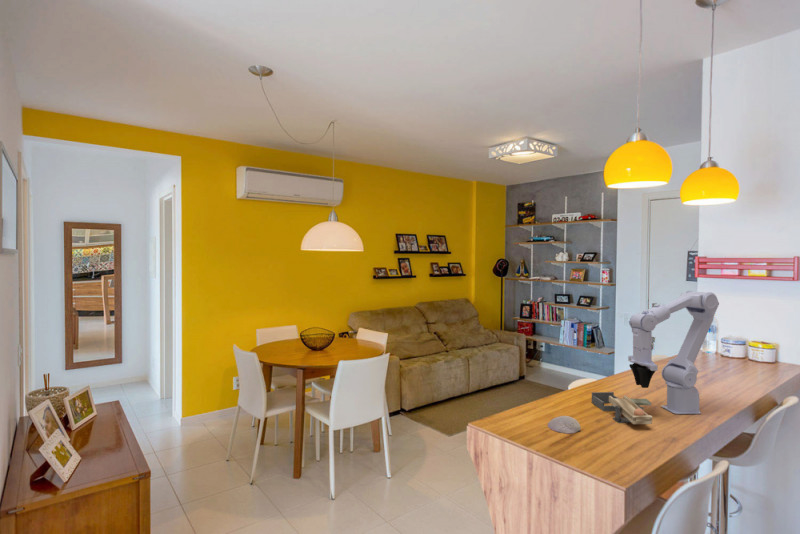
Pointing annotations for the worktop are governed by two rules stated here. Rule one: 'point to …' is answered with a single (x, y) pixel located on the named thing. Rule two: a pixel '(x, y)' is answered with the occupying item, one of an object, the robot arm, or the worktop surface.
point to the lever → (632, 409)
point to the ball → (638, 412)
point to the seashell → (564, 424)
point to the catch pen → (603, 400)
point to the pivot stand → (618, 415)
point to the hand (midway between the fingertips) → (642, 386)
